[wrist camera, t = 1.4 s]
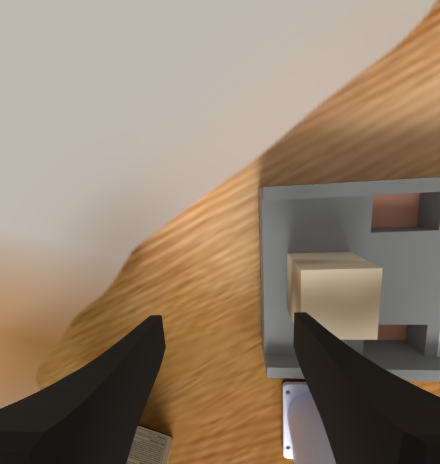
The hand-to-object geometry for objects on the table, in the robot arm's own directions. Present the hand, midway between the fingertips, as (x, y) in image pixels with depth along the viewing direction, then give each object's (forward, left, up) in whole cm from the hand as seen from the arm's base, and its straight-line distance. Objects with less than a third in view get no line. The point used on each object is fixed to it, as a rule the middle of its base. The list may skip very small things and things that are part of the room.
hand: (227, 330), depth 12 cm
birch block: (0, -7, -7) cm, 10 cm away
